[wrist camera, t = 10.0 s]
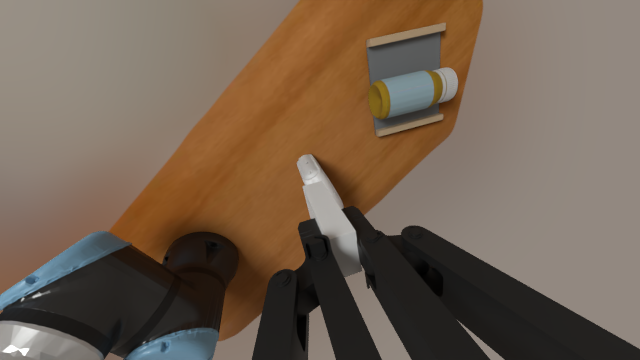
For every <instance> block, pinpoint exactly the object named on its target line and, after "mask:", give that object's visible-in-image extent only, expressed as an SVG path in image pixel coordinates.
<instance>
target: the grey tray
mask: <svg viewBox="0 0 640 360" xmlns="http://www.w3.org/2000/svg"><path fill="white" fill-rule="evenodd" d="M444 30H446V23H442V24H437V25H432V26H428V27H423V28H419V29H414V30H409V31H405V32H400V33H396V34H391V35H386V36H382V37H377V38H373V39H369V40H366V46H367V56H368V66H369V77H370V87H371V85H372V84H373V83H374V82H375V81H378V80H382V79H387V78H391V77H395V76H400V75H404V74H409V73H413V72H417V71H423V70H428V71H434V70H437V69H440V31H444ZM373 117H374V127H375V135H376V136H378V137H380V136H384V135H388V134H391V133H395V132H399V131H402V130H406V129H410V128H413V127H417V126H421V125H425V124H428V123H432V122H436V121H439V120H443V114H441V113H439V103H437V104H434V105H432V106H431V107H429V108H425V109H422V110H418V111H414V112H410V113H406V114H402V115H398V116H394V117H390V118H386V119H381V120H380V119H378V118H376V117H375V116H374V115H373Z"/></svg>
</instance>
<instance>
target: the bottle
mask: <svg viewBox="0 0 640 360" xmlns="http://www.w3.org/2000/svg"><path fill="white" fill-rule="evenodd" d="M457 88H458V79H457V76H456V73H455V72H454V71H453V70H452V69H451V68H441V69H437V70H434V71H428V70H423V71H417V72H413V73H409V74H404V75H400V76H395V77H391V78H387V79H382V80H378V81H375V82H374V83H373V84H372V85H371V87H370V89H369V93H368V99H369V106H370V109H371V112H372V114H373V115H374V116H375V117H376V118H378V119H380V120H381V119H386V118H390V117H394V116H398V115H402V114H406V113H410V112H414V111H418V110H422V109H425V108H429V107H431V106H432V105H434V104H437V103H441V102H445V101H448V100H450V99H452V98H453V97H454V96H455V94H456V92H457Z"/></svg>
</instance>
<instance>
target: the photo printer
mask: <svg viewBox="0 0 640 360" xmlns="http://www.w3.org/2000/svg"><path fill="white" fill-rule="evenodd" d="M297 166H298V169H299V172H300V174H301V177H302V179H303V182H304V184H305V186H306V185H309V184H312V183H316V182H319V181H322V182H323V183H324V185H325V186H326V188H327V189H328V191H329V192H330V194H331V195H332V197H333V198H334V200H335V201H336V202H337V204H338V205H339V207H340V208H341V209H343V208H344V207H343V203H342V200H341V198H340V197H339V195H338V193H337V191H336V190H335V188H334V186H333V185H332V183H331V182H330V180H329V179H328V177H327V175H326V174H325V173H324V171H323V170H322V168H321V167H320V165H319V163H318V162H317V160H316V159H315V158H314V157H313V156H312V155H311V154H310V155H303V156H302V157H300V158H299V160H298V162H297Z"/></svg>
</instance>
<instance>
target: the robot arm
mask: <svg viewBox="0 0 640 360" xmlns="http://www.w3.org/2000/svg"><path fill="white" fill-rule="evenodd" d="M302 187H303V190H304V194H305V198H306V202H307V206H308V210H309V214H310V218H311V219H310V220H307V221H304V222H301V223H299V226H298V231H299V234H300V238H301V241H302V245H303V248H304V251H305V256H306V258H305V261H304V263H303V264H302V265H301V267H299V268H298V269H296V270H295V271H293V270H290V269H284V270H280V271H278V272H277V273H275V274H274V275H273V276H272V277H271V279H270V281H269V284H268V288H267V293H266V298H265V302H264V307H263V311H262V316H261V321H260V325H259V329H258V334H257V338H256V343H255V347H254V352H253V356H252V360H308V336H309V333H308V332H309V313H310V312H311V311H312V310H313V309H315V308H316V307H318V306H319V305H320V307H321V310H322V313H323V317H324V320H325V323H326V327H327V330H328V333H329V337H330V340H331V344H332V347H333V351H334V354H335V358H336V360H382V359H381V357H380V355H379V352H378V350H377V348H376V346H375V344H374V342H373V339H372V337H371V335H370V333H369V331H368V329H367V326H366V324H365V322H364V320H363V318H362V315H361V313H360V311H359V309H358V307H357V305H356V302H355V300H354V298H353V296H352V294H351V291H350V289H349V287H348V285H347V283H346V280H345V278H344V277H347V276H349V275H352V274H355V273H358V272H360V271H362V267H361V265H362V266H363V268H364V270H365V277H366V283H367V287H368V289H369V288H370V286H371V288H372V290H373V291H374V293H375V295H376V297H377V298H378V300H379V302H380V304H381V306H382V308H383V309H384V311H385V313H386V315H387V316H388V318H389V320H390V322H391V324H392V325H393V327H394V329H395V331H396V333H397V334H398V336H399V338H400V340H401V341H402V343H403V345H404V347H405V349H406V350H407V352H408V354H409V356H410V357H411V359H412V360H490V359H489V358H488V356H487V355H486V354H485V353H484V352H483V350H482V349H481V348H480V347H479V346H478V345H477V343H476V342H475V341H474V340H473V339H472V337H471V336H470V335H469V334H468V333H467V332H466V330H465V329H464V328H463V327H462V326H461V324H460V323H462V324H463V325H464V326H465V327H466V328H468V329H469V330H470V331H471V332H473V333H474V334H475V335H476V336H477V337H479V338H480V339H481V340H482V341H483V342H484V343H486V344H487V345H488V346H489V347H490V348H492V349H493V350H494V351H495V352H496V353H498V354H499V355H500V356H501V357H502V358H504V359H505V360H640V349H639V348H637V347H635V346H633V345H631V344H630V343H628V342H626V341H625V340H623V339H621V338H619V337H617V336H616V335H613V334H612V333H610V332H608V331H607V330H605V329H603V328H601V327H600V326H598V325H596V324H594V323H592V322H591V321H589V320H587V319H585V318H584V317H582V316H580V315H578V314H576V313H575V312H573V311H571V310H569V309H568V308H566V307H564V306H562V305H560V304H559V303H557V302H555V301H553V300H552V299H550V298H548V297H546V296H544V295H543V294H541V293H539V292H537V291H535V290H534V289H532V288H530V287H528V286H527V285H525V284H523V283H521V282H520V281H517V280H516V279H514V278H512V277H510V276H509V275H507V274H505V273H503V272H501V271H500V270H498V269H496V268H495V267H493V266H491V265H489V264H487V263H485V262H484V261H482V260H480V259H479V258H477V257H475V256H473V255H471V254H470V253H468V252H466V251H464V250H463V249H461V248H459V247H457V246H455V245H454V244H452V243H450V242H448V241H446V240H445V239H443V238H441V237H439V236H438V235H436V234H434V233H432V232H431V231H429V230H427V229H425V228H423V227H420V226H408V227H406V228H404V229H403V230H402V232H401V235H396V236H395V235H394V236H387V235H385V234H384V233H382V232H381V231H378V230H375V229H374V228H373V227H372V225H371V224H370V223H369V222H368V220H367V219H366V218H365V217H364V215H363V214H362V213H361V212H360V210H359V209H358V208H356V207H354V206H350V207H347V208H343V209H341V208H340V207H339V205H338V204H337V202H336V201H335V200H334V198H333V197H332V195H331V194H330V192H329V191H328V189H327V188H326V186H325V185H324V183H323V182H322V181H319V182H316V183H312V184H309V185H306V186H302ZM238 260H239V257H238V252H237V249H236V248H235V246H234V245H233V244H232V243H231V242H230V241H229V240H228V239H226V238H225V237H223V236H221V235H218V234H214V233H209V232H196V233H191V234H187V235H185V236H182V237H180V238H179V239H177V240H176V241H175V242H173V243H172V245H171V246H170V247H169V249H168V251H167V252H166V254H165V256H164V259H163V263H162V264H160V263H159V262H157V261H155V260H154V259H152V258H151V257H149V256H148V255H146V254H145V253H143V252H142V251H140V250H139V249H137V248H136V247H134V246H132V243H130V242H125V241H124V240H122V239H120V238H118V237H117V236H115V235H113V234H112V233H110V232H106V231H98V232H94V233H91V234H89V235H88V236H86V237H85V238H83V239H82V240H80V241H79V242H77V243H76V244H74V245H73V246H71V247H70V248H68V249H67V250H65V251H64V252H62V253H61V254H59V255H58V256H57V257H55V258H54V259H52V260H51V261H49V262H48V263H46V264H45V265H43V266H42V267H41V268H39V269H38V270H36V271H35V272H33V273H32V274H30V275H29V276H27V277H26V278H25V279H23V280H22V281H20V282H19V283H17V284H16V285H14V286H13V287H11V288H10V289H9V290H7V291H5V292H4V293H2V294H1V295H0V310H3V312H2V313H1V314H0V360H104V359H105V357H106V356H107V355H108V353H109V352H110V353H113V354H115V355H117V356H120V357H122V358H124V359H123V360H212V358H213V355H214V351H215V347H216V343H217V341H218V338H219V329H220V323H221V316H222V310H223V303H224V296H225V290H226V288H227V287H228V285H229V283H230V281H231V280H232V278H233V277H234V275H235V273H236V271H237V267H238ZM369 284H370V286H369ZM456 319H457V320H458V321H459V322H460V323H459V322H458V321H457V320H456Z"/></svg>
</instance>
